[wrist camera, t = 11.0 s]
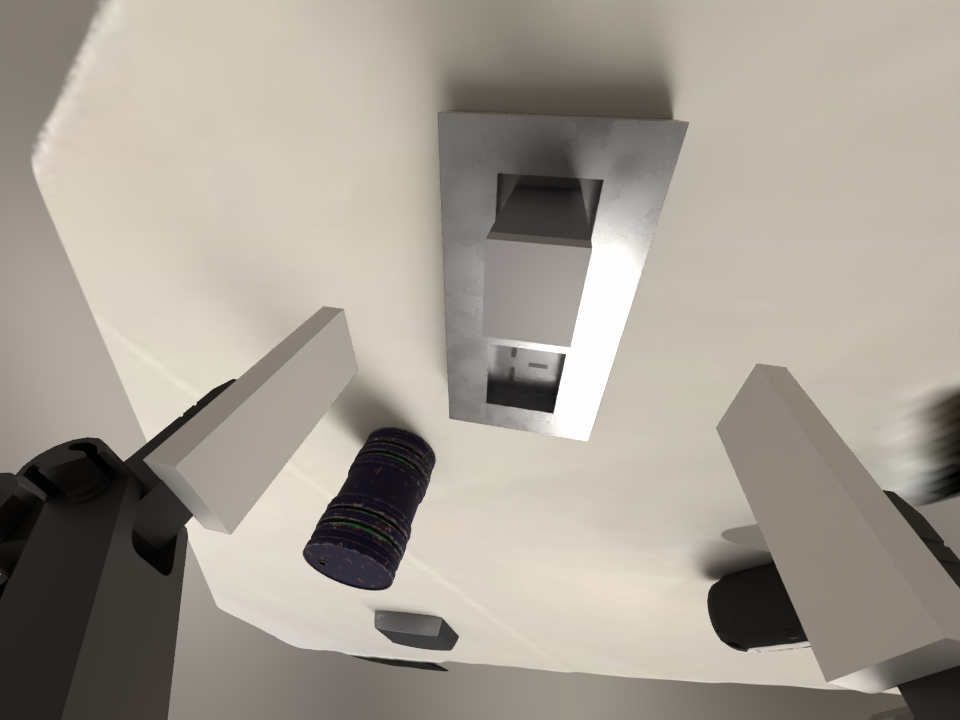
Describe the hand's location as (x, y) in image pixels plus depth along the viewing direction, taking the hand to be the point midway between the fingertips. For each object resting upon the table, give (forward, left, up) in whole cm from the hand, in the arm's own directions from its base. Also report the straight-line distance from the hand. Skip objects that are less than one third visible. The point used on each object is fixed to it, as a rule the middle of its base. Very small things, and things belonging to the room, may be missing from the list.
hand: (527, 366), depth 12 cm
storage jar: (+15, +32, -19) cm, 40 cm away
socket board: (0, +7, -19) cm, 20 cm away
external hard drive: (+19, +101, -19) cm, 105 cm away
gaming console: (-35, +42, -19) cm, 57 cm away
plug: (0, 0, -17) cm, 17 cm away
